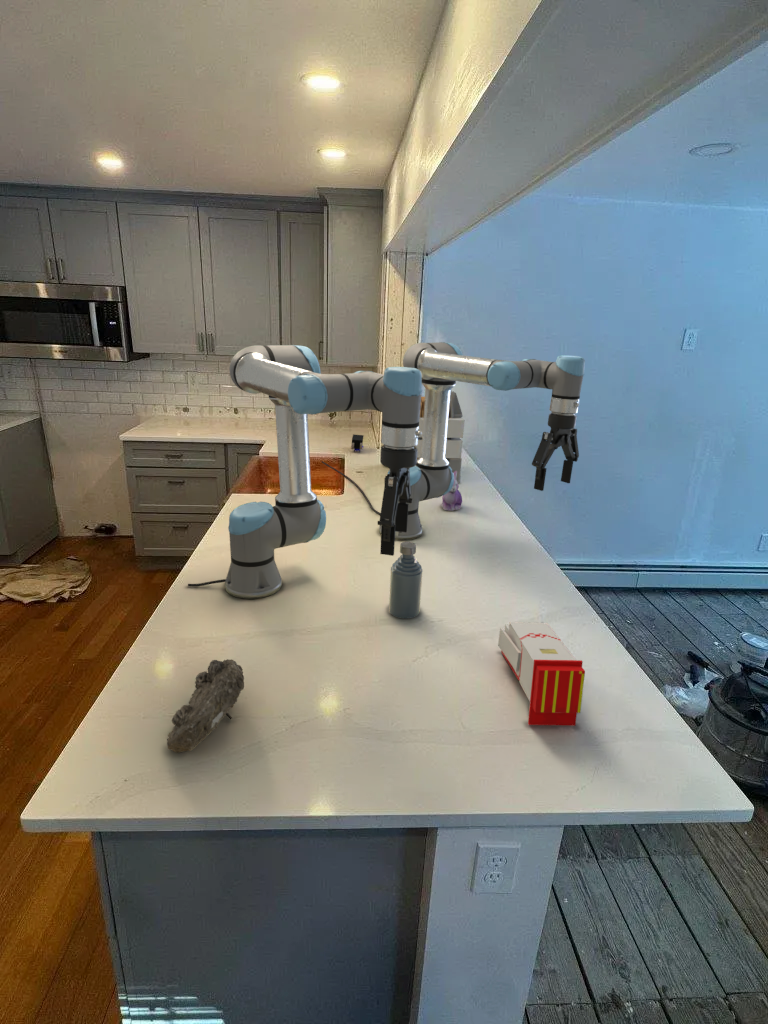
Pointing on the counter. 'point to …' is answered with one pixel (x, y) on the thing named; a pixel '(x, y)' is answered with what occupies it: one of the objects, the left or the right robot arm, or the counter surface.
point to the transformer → (448, 434)
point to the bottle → (405, 587)
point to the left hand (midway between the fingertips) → (394, 542)
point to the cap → (408, 548)
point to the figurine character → (357, 442)
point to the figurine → (452, 497)
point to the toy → (544, 672)
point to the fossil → (206, 705)
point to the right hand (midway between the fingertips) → (552, 485)
